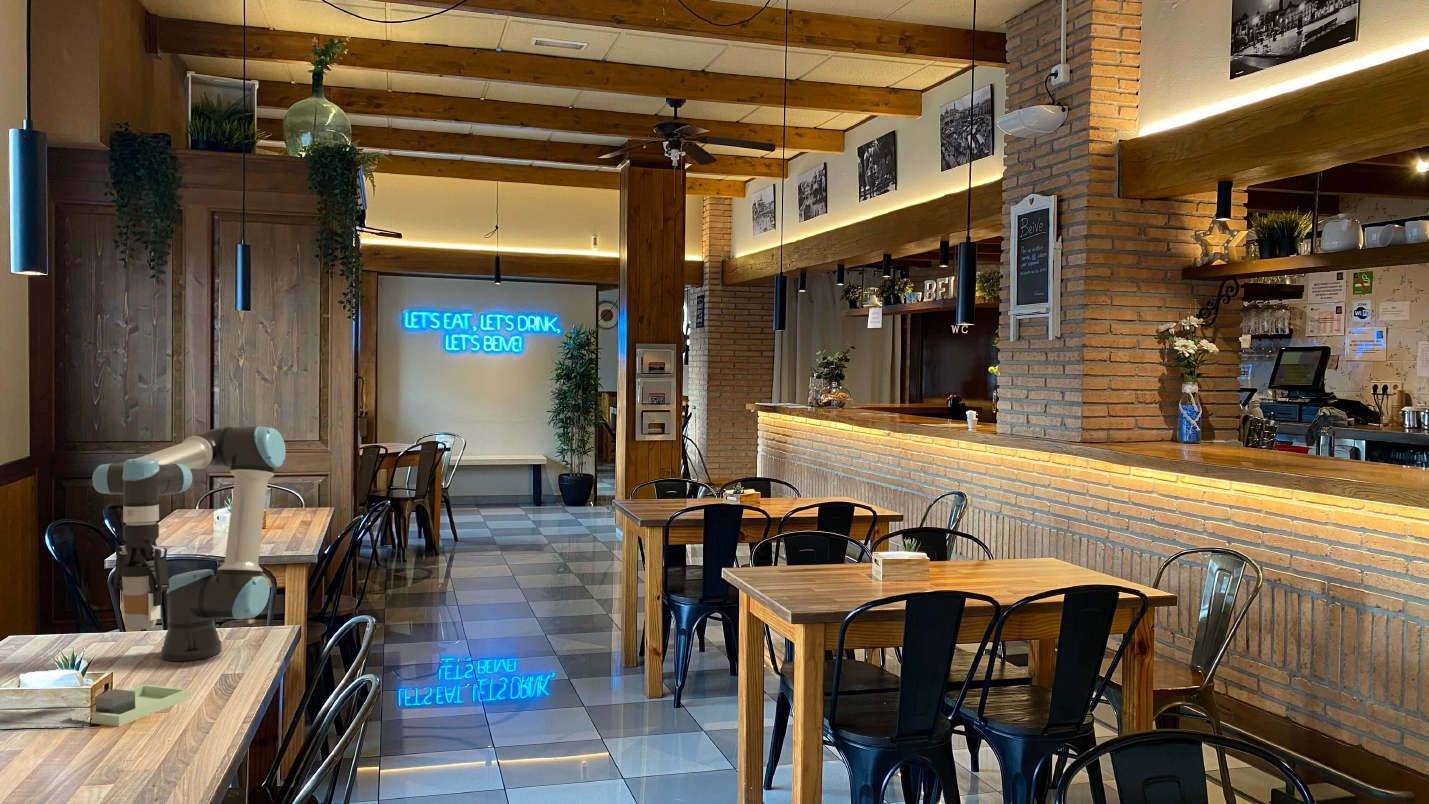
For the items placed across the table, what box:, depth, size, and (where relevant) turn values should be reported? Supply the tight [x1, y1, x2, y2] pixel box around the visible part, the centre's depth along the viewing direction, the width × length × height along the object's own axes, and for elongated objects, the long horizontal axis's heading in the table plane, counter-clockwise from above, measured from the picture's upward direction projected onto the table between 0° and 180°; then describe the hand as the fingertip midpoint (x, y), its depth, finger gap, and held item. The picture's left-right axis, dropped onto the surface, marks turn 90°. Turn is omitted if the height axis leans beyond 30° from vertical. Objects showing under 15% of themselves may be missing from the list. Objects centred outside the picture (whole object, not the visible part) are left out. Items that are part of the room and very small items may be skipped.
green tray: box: [90, 683, 191, 728], centre depth 236 cm, size 20×14×3 cm
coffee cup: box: [121, 563, 158, 631], centre depth 244 cm, size 8×8×15 cm
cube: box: [95, 688, 135, 715], centre depth 231 cm, size 6×6×5 cm
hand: (141, 617), depth 244 cm, fingers closed on coffee cup, 7 cm apart
